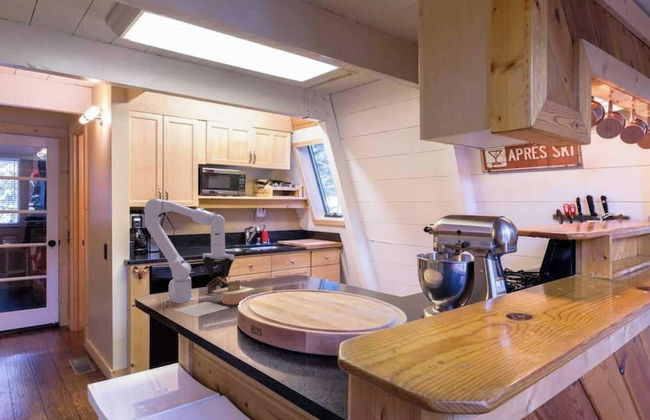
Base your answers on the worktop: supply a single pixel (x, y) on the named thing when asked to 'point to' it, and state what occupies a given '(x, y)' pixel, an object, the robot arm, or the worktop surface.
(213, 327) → the worktop surface
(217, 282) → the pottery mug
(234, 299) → the terracotta bowl
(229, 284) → the birch lid
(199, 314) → the grey mat
